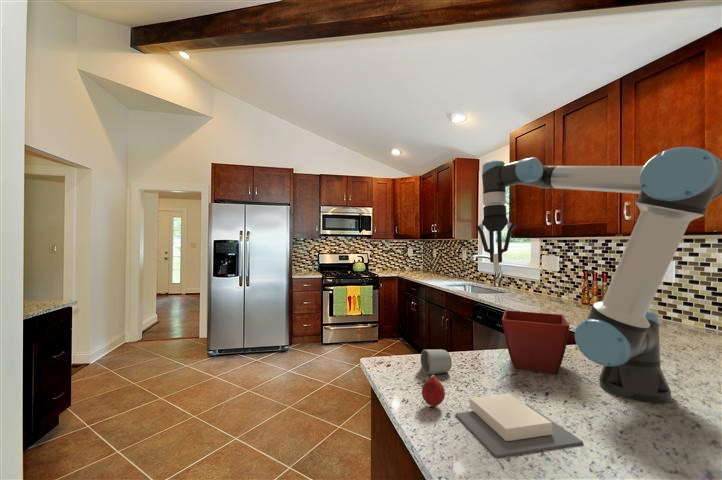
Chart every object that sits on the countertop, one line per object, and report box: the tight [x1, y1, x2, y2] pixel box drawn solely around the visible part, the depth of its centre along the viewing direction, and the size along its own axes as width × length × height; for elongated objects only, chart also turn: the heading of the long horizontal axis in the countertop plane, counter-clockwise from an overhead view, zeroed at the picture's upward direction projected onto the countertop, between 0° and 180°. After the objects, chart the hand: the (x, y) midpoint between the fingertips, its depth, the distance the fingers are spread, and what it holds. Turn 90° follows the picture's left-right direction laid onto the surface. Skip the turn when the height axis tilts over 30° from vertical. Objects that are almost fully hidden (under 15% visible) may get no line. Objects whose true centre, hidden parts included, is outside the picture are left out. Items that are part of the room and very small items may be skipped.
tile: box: [469, 393, 552, 441], centre depth 72 cm, size 11×3×14 cm
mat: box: [454, 403, 584, 459], centre depth 70 cm, size 16×20×1 cm
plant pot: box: [501, 310, 570, 375], centre depth 108 cm, size 19×19×17 cm
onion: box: [421, 374, 446, 408], centre depth 80 cm, size 6×6×8 cm
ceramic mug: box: [420, 348, 453, 376], centre depth 104 cm, size 11×8×8 cm
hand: (496, 272), depth 110 cm, fingers closed
